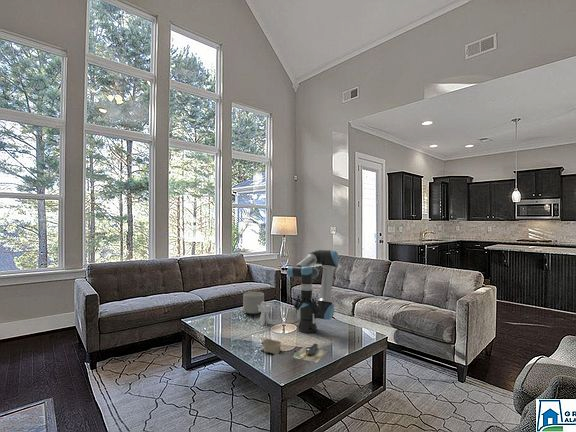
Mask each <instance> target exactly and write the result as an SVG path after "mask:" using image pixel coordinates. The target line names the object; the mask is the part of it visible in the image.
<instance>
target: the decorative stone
mask: <svg viewBox="0 0 576 432" xmlns="http://www.w3.org/2000/svg"><path fill="white" fill-rule="evenodd" d="M281 343H282V342H281V341H279V340H274V339H271V338H267V337H266V338H264V339H263V340H262V344H263V346H261V348H260V349H259V350H260V351H262V352H264V353H270V354H273V355H277V354H278V355H279V354H280V350H281V346H282V345H281Z"/></svg>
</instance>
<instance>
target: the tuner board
mask: <svg viewBox="0 0 576 432" xmlns="http://www.w3.org/2000/svg"><path fill="white" fill-rule="evenodd" d="M307 347H308V346H303V347H302V348H301V349H298V350H297V351H296V352H295V353H294V355H293V356H292V358H295V359H298V360H303V361H307V362H312V363H316V364H318V362H320V360H321V359H322V358H323V357H324V356H325V355H326V354H327V353H328V352H329V351H328V350H323V349H317V350H315V355H312V356H309V355H307V356H305V357H304V355H305V354H306V348H307Z"/></svg>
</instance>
